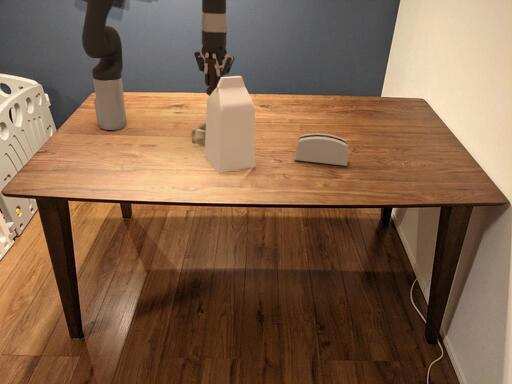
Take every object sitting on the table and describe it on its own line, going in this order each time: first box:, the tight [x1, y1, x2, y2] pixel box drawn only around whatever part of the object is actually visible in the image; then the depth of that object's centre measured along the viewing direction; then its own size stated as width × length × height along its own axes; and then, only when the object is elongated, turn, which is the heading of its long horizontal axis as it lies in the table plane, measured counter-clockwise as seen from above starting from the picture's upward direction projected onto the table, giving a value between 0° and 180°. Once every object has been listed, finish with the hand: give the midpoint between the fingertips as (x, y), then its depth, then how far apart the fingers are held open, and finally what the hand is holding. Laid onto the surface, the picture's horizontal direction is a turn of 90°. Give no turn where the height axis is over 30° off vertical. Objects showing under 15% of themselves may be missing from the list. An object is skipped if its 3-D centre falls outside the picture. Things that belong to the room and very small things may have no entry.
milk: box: [204, 75, 256, 174], centre depth 118 cm, size 12×12×26 cm
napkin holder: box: [293, 132, 349, 167], centre depth 125 cm, size 17×5×10 cm, turn 81°
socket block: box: [191, 121, 206, 147], centre depth 137 cm, size 10×12×5 cm
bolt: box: [204, 58, 222, 97], centre depth 129 cm, size 6×5×15 cm
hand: (214, 86), depth 129 cm, fingers closed on bolt, 3 cm apart
